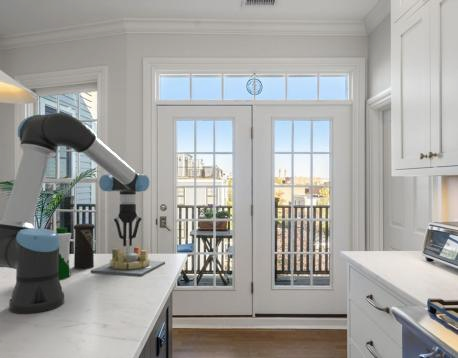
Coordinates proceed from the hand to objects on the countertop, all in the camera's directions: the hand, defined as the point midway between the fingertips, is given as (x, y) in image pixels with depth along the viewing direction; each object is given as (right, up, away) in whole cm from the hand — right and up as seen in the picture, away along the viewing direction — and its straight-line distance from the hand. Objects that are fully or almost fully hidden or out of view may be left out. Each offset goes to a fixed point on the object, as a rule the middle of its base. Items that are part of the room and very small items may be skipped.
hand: (127, 252), depth 166 cm
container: (-18, -6, -6) cm, 20 cm away
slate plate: (+3, -5, -7) cm, 9 cm away
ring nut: (+3, -4, -7) cm, 8 cm away
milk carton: (-22, -5, -25) cm, 33 cm away
